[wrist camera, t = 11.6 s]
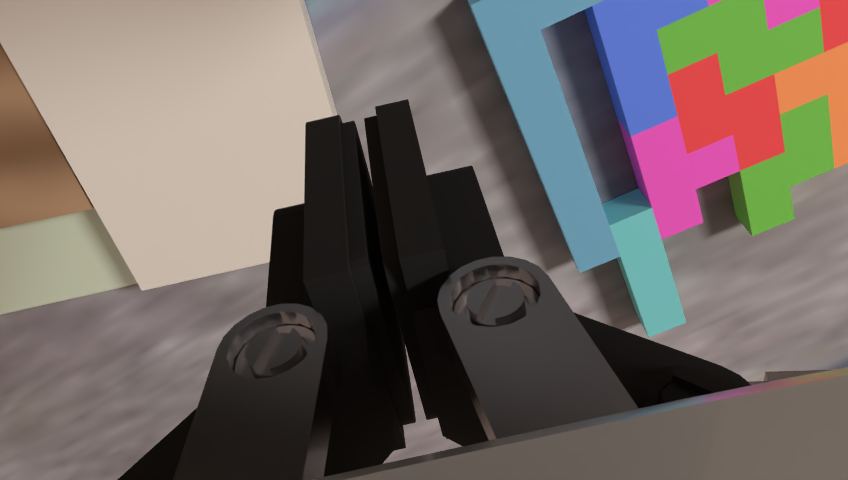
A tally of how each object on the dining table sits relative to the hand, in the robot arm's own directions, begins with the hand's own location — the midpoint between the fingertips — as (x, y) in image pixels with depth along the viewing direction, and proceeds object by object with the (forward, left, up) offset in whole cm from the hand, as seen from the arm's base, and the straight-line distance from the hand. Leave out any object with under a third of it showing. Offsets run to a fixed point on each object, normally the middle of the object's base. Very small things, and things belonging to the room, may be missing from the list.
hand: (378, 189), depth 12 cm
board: (+8, -10, -27) cm, 30 cm away
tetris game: (+17, +22, -28) cm, 39 cm away
